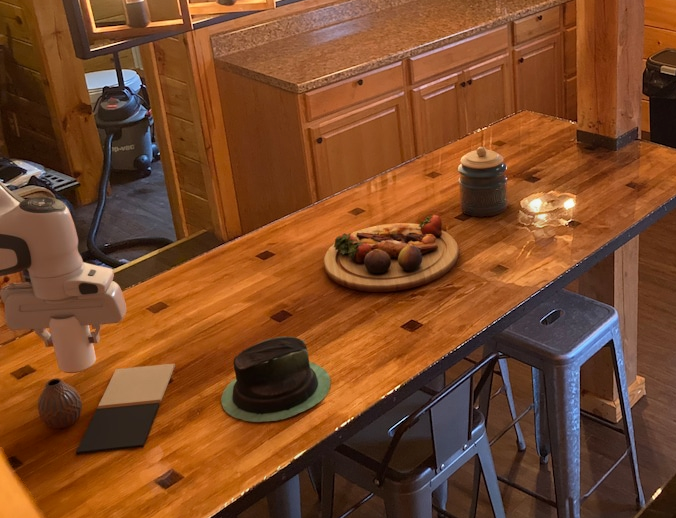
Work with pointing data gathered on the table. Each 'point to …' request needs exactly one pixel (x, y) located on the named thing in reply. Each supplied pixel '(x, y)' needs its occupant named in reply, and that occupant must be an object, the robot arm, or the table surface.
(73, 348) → the can
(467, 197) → the canister
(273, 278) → the table surface
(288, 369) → the fedora hat
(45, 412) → the vase
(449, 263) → the wooden plate
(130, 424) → the sorting mat
